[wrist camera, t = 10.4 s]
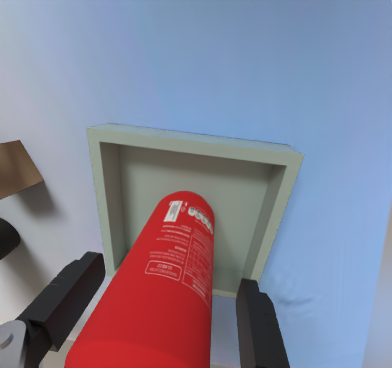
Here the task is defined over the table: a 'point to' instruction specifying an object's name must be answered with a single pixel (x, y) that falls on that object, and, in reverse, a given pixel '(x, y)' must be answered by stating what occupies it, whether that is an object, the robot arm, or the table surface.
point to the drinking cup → (7, 238)
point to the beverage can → (157, 295)
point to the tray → (196, 182)
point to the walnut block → (16, 169)
